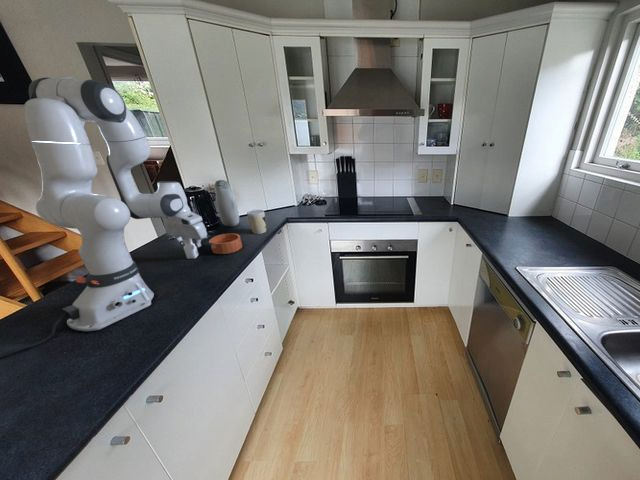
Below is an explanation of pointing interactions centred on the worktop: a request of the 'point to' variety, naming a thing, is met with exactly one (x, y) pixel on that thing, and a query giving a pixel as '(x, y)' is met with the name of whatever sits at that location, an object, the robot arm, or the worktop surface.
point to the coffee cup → (257, 221)
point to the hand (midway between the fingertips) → (190, 245)
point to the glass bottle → (226, 204)
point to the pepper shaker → (190, 248)
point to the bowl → (225, 243)
